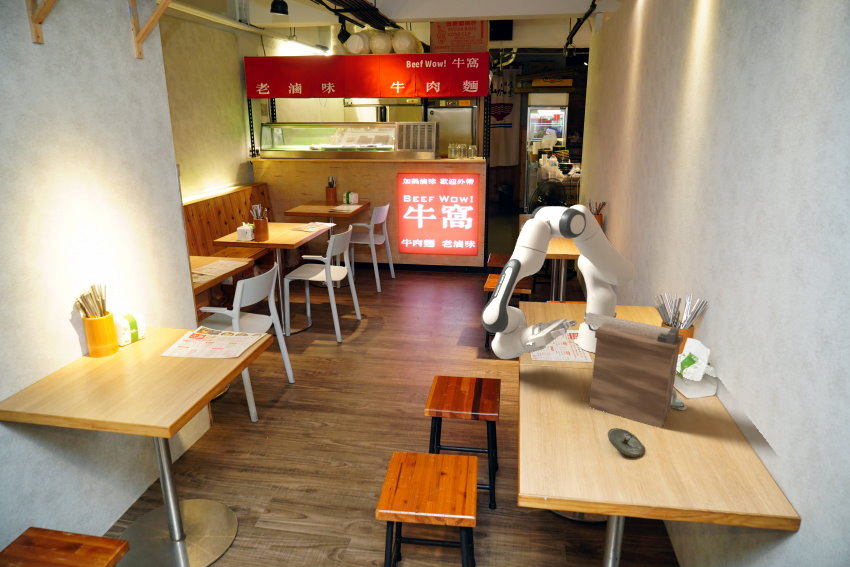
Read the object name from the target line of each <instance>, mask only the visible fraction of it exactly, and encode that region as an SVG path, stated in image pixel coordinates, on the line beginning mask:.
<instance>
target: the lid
mask: <svg viewBox="0 0 850 567" xmlns="http://www.w3.org/2000/svg"><path fill="white" fill-rule="evenodd" d="M607 438H608V441H609V442H610V444H611V445H612V446H613V448H615V449H616V450H617V451H618V452H620V453H621V455H624V456H627V457H629V458H638V457H641V456H643V455H644V452H645V450H644V446H643V444H642V442H641V440H639V438H638V437H637V436H635V435H634V434H633V433H632V432H630V431H628V430H626V429H623V428H617V427H615V428H610V429H609V430H608V432H607Z"/></svg>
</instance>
